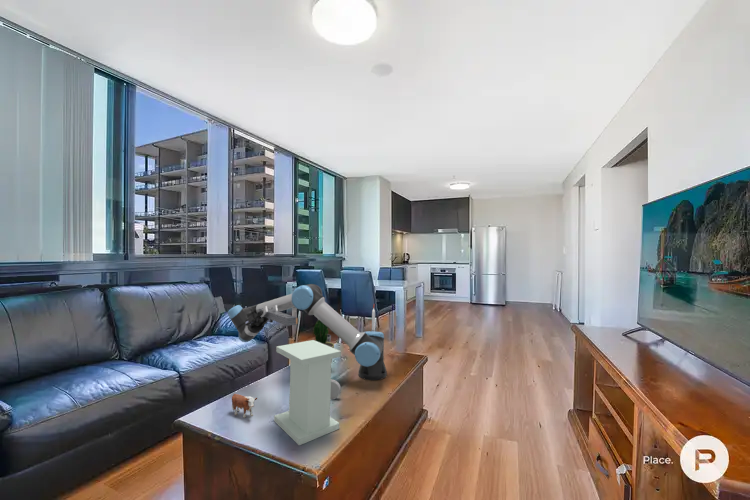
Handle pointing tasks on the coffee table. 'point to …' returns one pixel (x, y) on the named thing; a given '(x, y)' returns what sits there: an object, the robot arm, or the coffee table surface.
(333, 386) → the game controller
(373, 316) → the candlestick
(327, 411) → the stand
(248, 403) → the bull figurine
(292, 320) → the bar
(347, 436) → the coffee table surface
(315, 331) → the potted cactus
